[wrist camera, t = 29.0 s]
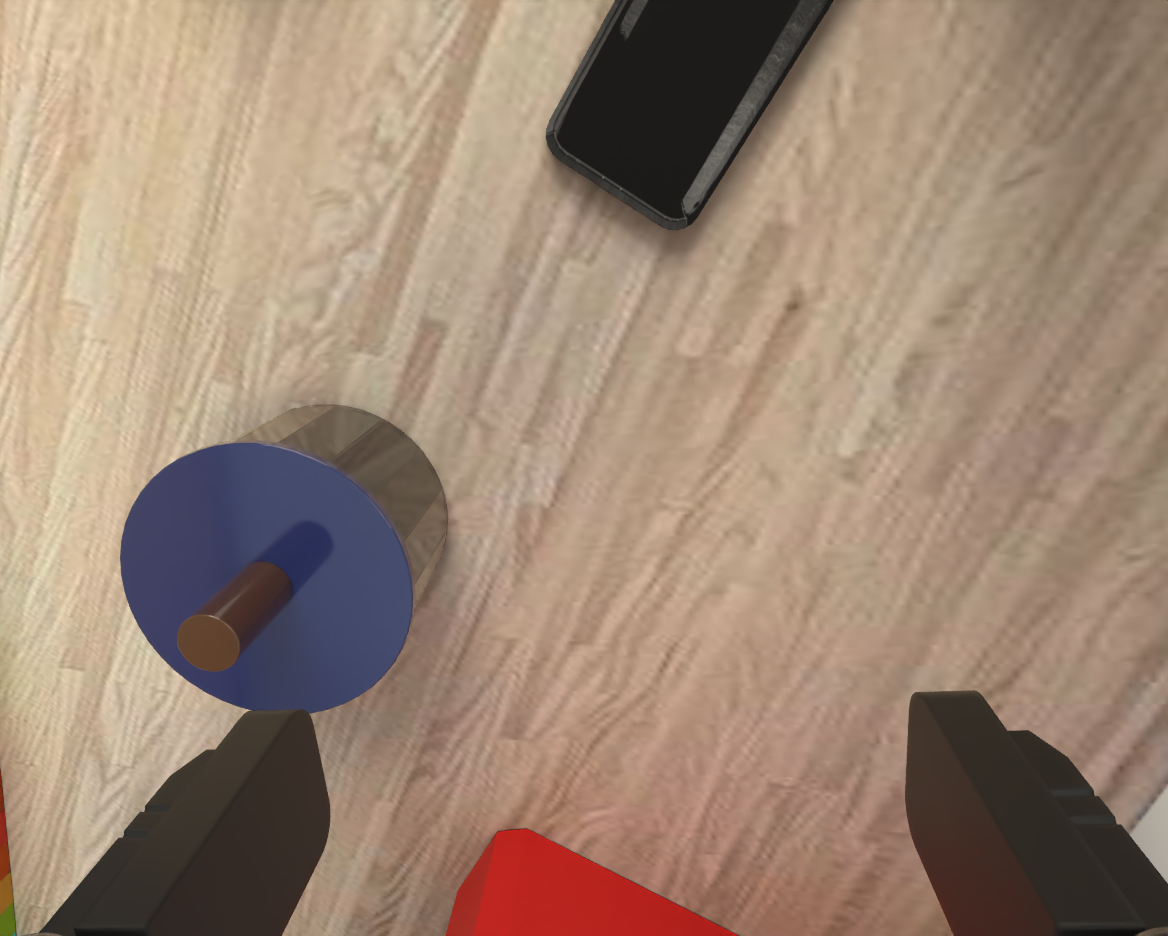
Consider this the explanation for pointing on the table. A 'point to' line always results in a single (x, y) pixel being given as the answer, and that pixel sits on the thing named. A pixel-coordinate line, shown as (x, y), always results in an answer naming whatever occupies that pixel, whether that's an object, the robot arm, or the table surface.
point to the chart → (5, 878)
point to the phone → (676, 96)
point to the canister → (374, 471)
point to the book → (560, 896)
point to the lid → (268, 576)
